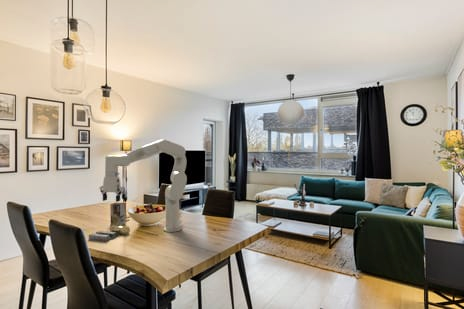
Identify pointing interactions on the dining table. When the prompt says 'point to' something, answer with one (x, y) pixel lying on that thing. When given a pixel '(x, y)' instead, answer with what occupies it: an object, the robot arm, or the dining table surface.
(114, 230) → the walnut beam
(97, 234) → the steel v block
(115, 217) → the coffee box
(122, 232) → the brass axle
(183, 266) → the dining table surface
